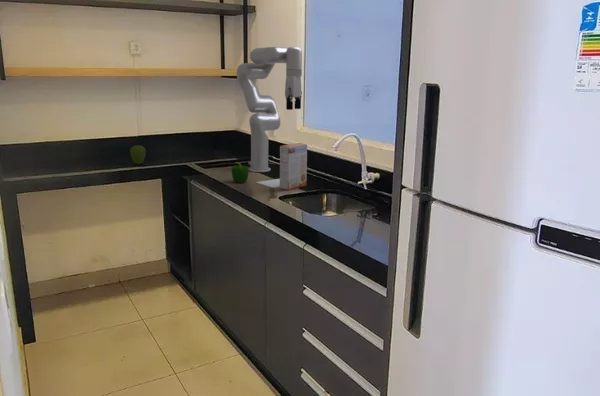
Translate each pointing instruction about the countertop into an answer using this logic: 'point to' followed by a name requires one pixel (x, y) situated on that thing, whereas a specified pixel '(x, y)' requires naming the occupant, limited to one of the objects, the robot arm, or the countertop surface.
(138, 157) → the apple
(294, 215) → the countertop surface
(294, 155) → the cracker box
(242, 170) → the bell pepper
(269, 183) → the mat
